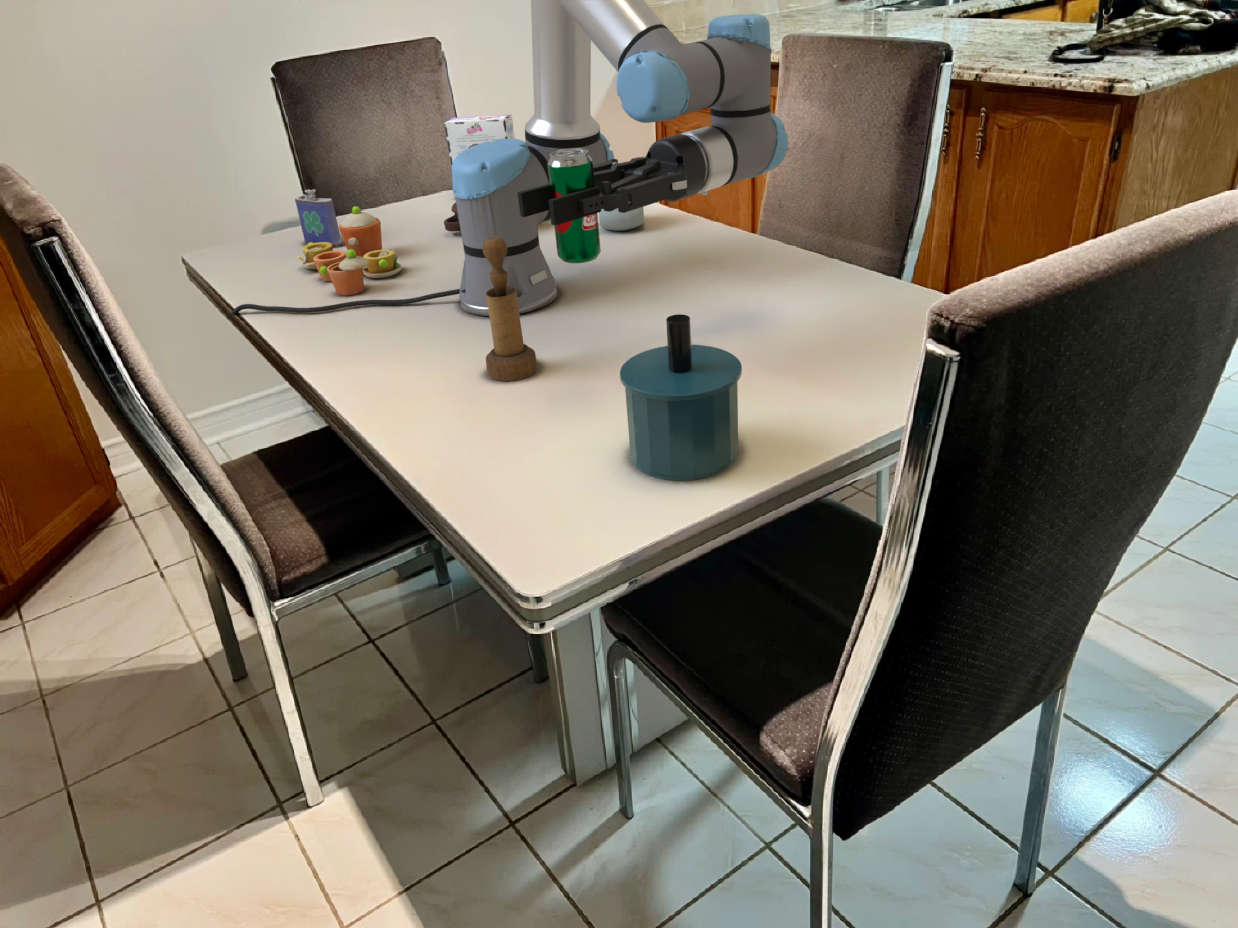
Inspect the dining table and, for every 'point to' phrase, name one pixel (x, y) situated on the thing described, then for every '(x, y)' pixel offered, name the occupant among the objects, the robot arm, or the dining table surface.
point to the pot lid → (680, 367)
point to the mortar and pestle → (505, 322)
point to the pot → (683, 435)
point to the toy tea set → (353, 255)
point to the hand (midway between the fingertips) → (536, 208)
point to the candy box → (476, 132)
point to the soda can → (566, 177)
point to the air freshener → (621, 219)
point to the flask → (318, 219)
